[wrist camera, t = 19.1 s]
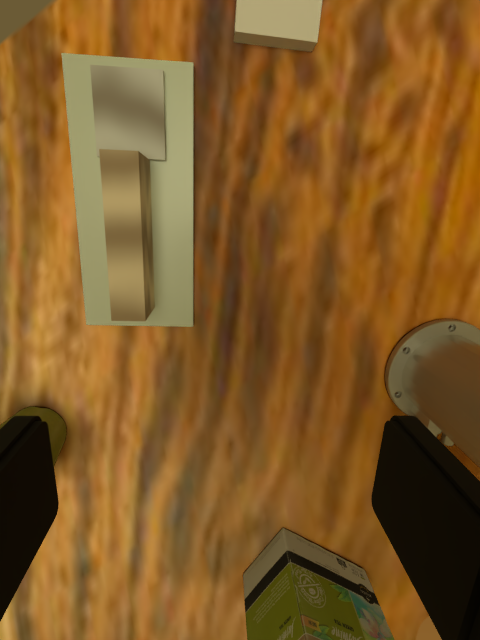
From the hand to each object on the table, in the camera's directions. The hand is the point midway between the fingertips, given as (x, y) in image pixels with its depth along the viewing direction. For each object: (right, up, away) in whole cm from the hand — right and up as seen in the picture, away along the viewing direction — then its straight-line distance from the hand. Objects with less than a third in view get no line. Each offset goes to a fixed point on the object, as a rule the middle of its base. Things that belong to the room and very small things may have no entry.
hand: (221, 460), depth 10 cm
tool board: (-9, +15, +24) cm, 30 cm away
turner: (-9, +15, +23) cm, 30 cm away
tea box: (+10, -31, +40) cm, 52 cm away
